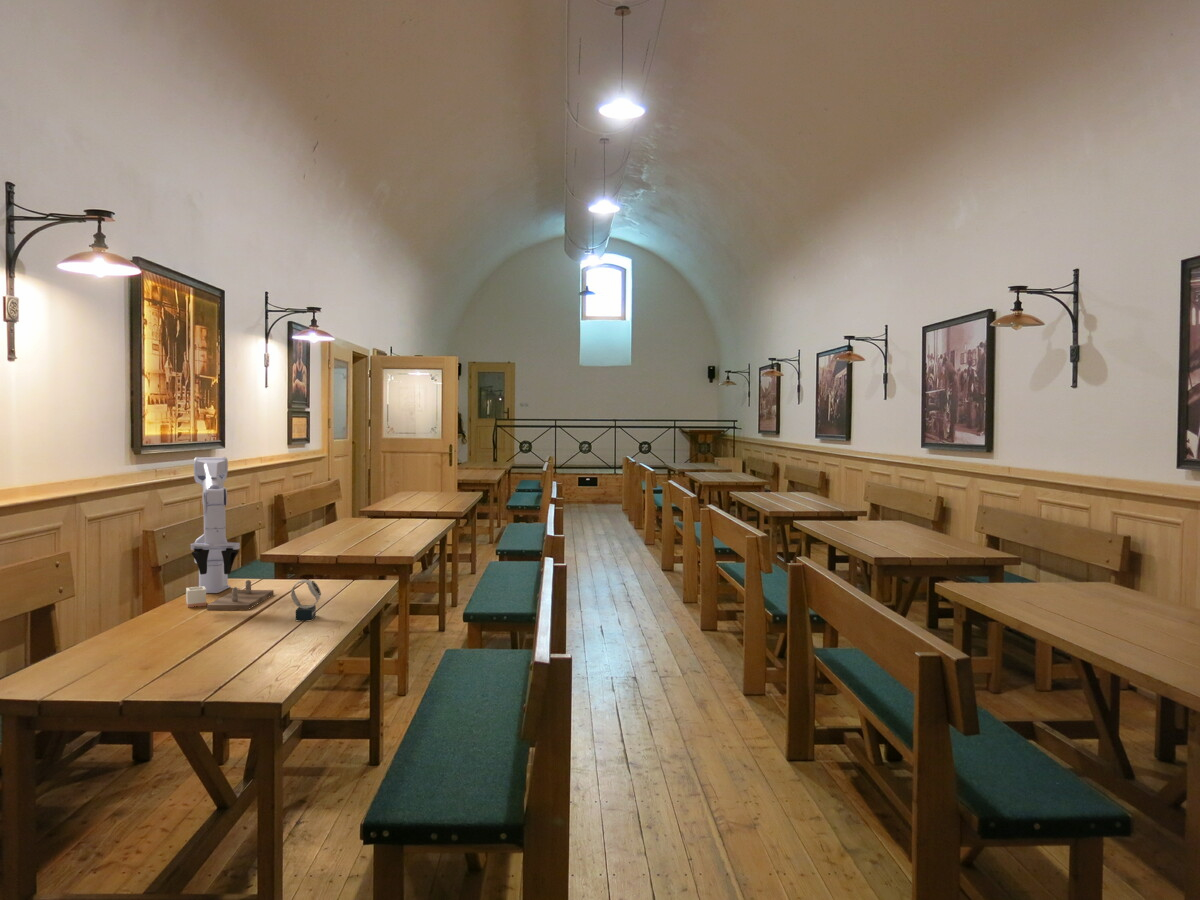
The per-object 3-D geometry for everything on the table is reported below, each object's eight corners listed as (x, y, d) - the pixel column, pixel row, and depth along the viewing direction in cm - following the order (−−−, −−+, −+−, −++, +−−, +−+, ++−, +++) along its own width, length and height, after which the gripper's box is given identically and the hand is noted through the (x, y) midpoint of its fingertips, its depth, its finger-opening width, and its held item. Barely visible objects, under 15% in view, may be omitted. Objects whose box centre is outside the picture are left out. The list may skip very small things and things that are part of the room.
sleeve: (186, 604, 236) (186, 587, 236) (204, 602, 239) (204, 586, 239) (187, 607, 232) (187, 591, 232) (206, 605, 235) (206, 589, 235)
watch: (318, 620, 220) (318, 582, 220) (289, 621, 219) (289, 582, 218) (322, 615, 226) (322, 578, 225) (293, 616, 224) (293, 578, 224)
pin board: (235, 594, 250) (235, 576, 250) (273, 594, 250) (273, 576, 250) (207, 609, 230) (207, 590, 230) (248, 610, 230) (248, 590, 230)
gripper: (183, 529, 229) (184, 575, 228) (230, 529, 227) (230, 575, 227) (198, 528, 236) (199, 572, 235) (243, 527, 234) (244, 572, 234)
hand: (215, 573), depth 231 cm, fingers open, 7 cm apart
